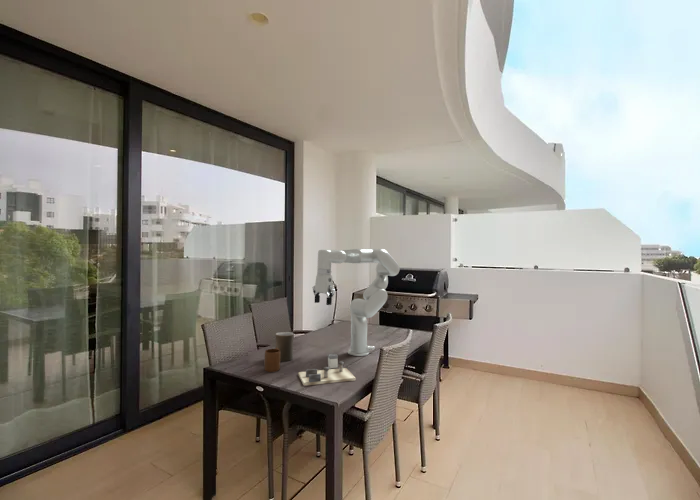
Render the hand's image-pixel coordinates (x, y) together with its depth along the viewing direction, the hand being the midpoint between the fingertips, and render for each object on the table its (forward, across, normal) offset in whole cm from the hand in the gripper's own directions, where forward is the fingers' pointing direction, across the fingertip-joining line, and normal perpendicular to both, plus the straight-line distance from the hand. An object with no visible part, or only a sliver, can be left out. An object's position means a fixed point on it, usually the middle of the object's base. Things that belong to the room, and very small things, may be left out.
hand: (322, 303), depth 187 cm
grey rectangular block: (+30, -13, +3) cm, 33 cm away
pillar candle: (+31, +14, +14) cm, 37 cm away
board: (+31, -22, +16) cm, 41 cm away
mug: (+31, +5, +27) cm, 41 cm away
